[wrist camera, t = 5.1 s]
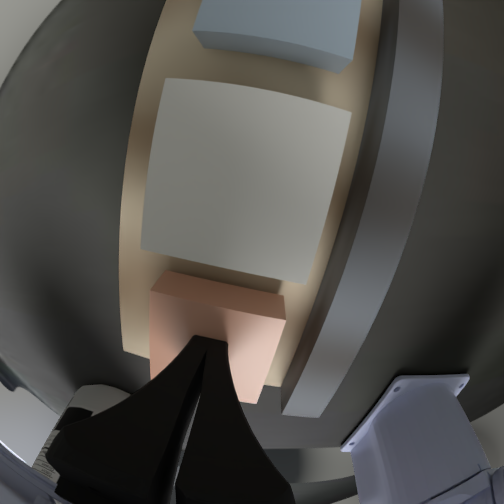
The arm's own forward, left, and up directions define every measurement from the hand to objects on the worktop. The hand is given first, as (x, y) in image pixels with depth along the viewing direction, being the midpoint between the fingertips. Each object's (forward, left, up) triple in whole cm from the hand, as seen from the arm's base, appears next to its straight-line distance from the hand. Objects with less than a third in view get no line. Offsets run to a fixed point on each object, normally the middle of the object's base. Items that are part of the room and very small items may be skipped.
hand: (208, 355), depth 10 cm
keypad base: (+7, -1, -3) cm, 8 cm away
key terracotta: (0, 0, -2) cm, 2 cm away
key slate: (+14, 0, -2) cm, 14 cm away
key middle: (+7, 0, -1) cm, 7 cm away
